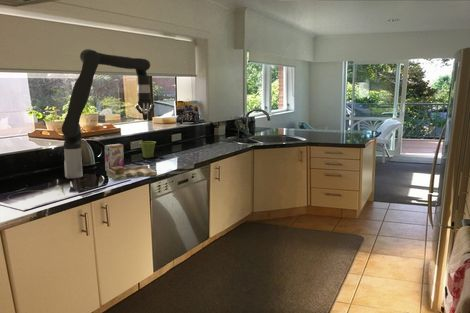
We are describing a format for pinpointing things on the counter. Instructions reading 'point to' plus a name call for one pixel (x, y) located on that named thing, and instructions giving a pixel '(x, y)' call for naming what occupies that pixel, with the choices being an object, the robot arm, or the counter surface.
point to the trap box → (131, 172)
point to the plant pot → (148, 148)
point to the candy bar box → (114, 155)
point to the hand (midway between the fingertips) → (145, 120)
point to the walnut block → (118, 169)
